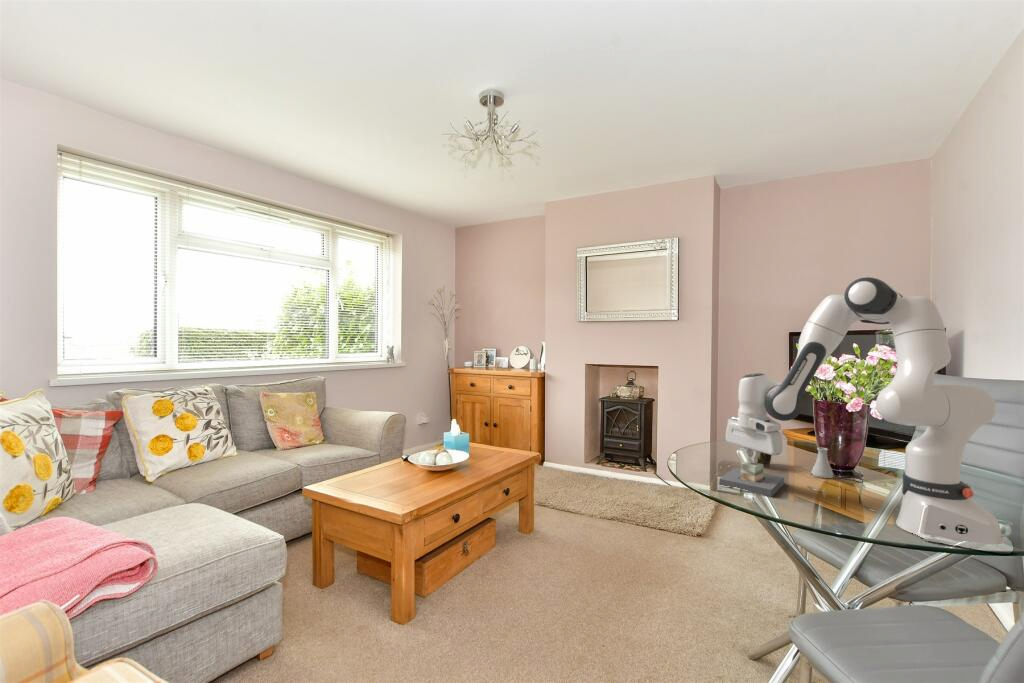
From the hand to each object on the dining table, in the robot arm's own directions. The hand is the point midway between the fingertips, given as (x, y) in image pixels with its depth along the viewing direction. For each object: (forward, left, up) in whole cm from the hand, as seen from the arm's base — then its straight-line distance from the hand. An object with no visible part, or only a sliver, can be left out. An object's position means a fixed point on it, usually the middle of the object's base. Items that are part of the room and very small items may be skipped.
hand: (752, 461), depth 162 cm
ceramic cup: (+4, -24, -8) cm, 26 cm away
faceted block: (0, 0, -7) cm, 7 cm away
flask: (-16, -26, -8) cm, 32 cm away
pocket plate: (0, 0, -8) cm, 8 cm away
